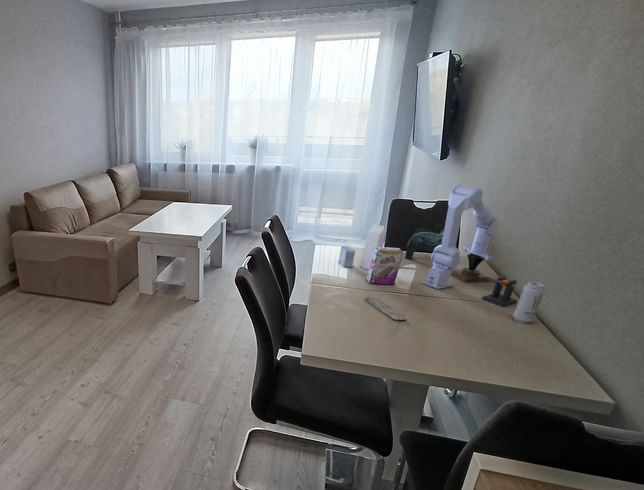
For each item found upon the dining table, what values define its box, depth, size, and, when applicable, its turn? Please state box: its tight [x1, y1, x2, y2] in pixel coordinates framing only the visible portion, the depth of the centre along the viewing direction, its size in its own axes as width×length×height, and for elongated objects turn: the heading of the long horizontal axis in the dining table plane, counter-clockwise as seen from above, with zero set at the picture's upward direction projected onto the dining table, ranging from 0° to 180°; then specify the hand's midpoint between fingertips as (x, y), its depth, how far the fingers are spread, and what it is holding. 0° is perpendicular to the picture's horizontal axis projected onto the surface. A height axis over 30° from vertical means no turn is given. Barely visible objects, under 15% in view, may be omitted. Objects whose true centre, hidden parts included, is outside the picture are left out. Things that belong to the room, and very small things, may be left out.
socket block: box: [450, 267, 490, 283], centre depth 196 cm, size 12×9×4 cm
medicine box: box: [338, 245, 356, 268], centre depth 208 cm, size 8×4×9 cm, turn 179°
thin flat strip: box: [365, 296, 406, 321], centre depth 164 cm, size 5×20×1 cm, turn 11°
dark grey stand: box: [482, 276, 518, 308], centre depth 172 cm, size 10×8×10 cm
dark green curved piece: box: [404, 224, 444, 260], centre depth 213 cm, size 20×6×20 cm, turn 58°
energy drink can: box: [512, 281, 546, 324], centre depth 155 cm, size 6×6×15 cm
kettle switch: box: [487, 277, 509, 288], centre depth 169 cm, size 11×5×2 cm, turn 116°
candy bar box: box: [366, 246, 404, 286], centre depth 186 cm, size 11×5×16 cm, turn 84°
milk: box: [360, 223, 387, 271], centre depth 202 cm, size 6×6×22 cm
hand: (471, 269), depth 195 cm, fingers closed, pressing on socket button
